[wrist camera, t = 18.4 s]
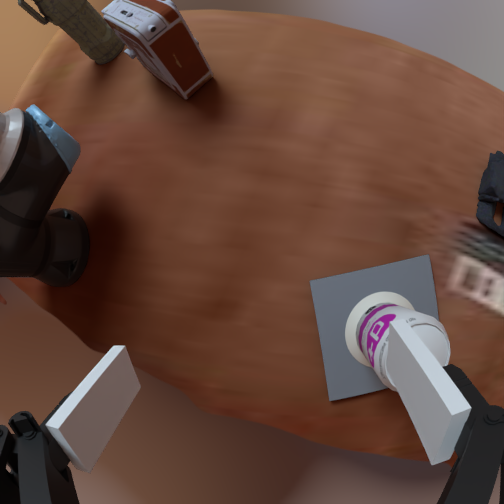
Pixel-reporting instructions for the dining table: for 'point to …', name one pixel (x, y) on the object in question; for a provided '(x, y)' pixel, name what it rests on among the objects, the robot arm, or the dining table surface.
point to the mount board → (354, 306)
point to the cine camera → (160, 42)
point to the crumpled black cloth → (492, 192)
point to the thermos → (80, 26)
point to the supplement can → (377, 336)
